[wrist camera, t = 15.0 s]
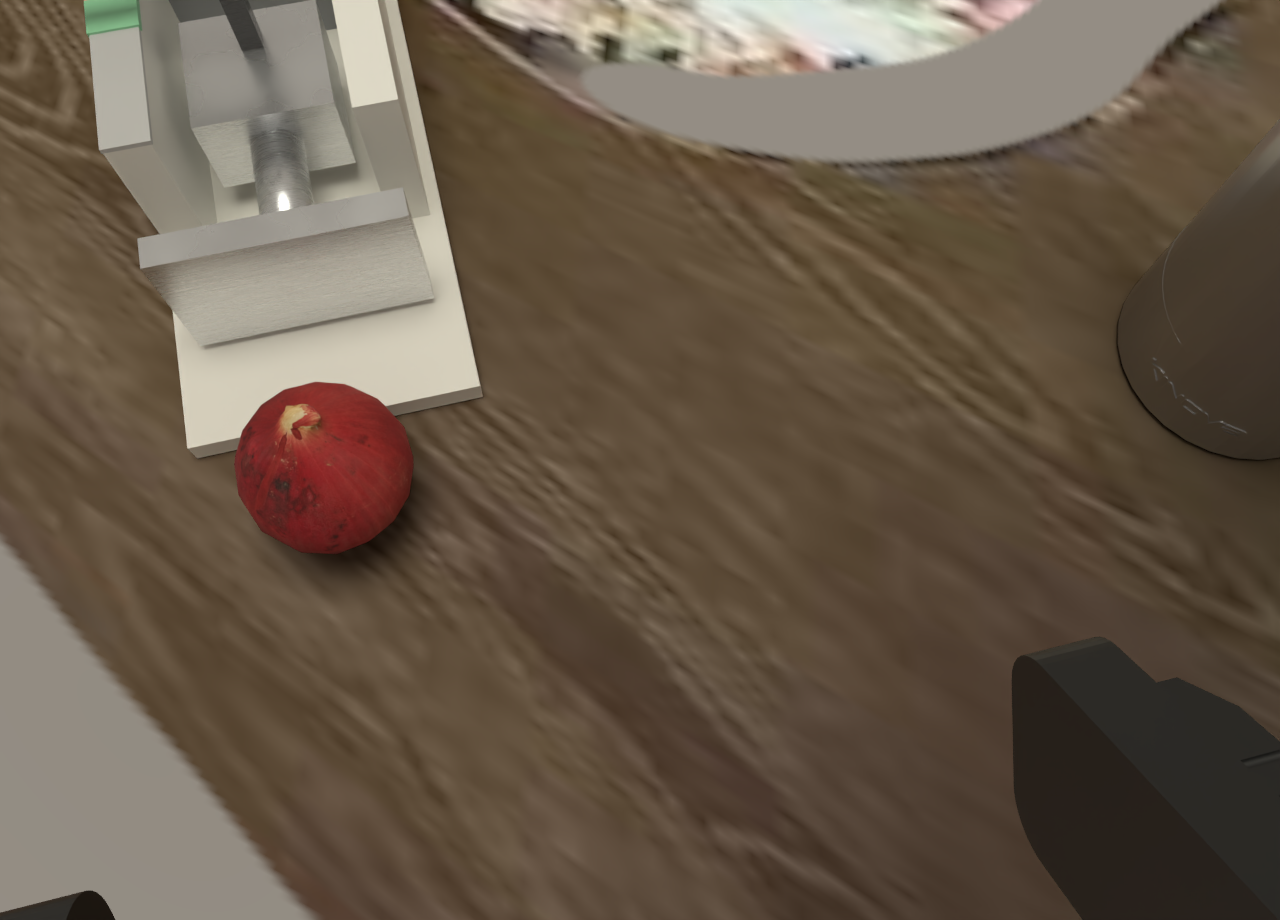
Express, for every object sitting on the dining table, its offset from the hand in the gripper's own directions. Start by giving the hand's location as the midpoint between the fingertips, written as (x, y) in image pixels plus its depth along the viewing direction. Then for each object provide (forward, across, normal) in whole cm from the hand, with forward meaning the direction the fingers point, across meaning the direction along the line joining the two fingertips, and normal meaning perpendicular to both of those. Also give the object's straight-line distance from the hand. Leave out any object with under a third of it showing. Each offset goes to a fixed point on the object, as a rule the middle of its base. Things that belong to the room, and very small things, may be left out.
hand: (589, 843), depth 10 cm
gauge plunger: (+39, +7, 0) cm, 39 cm away
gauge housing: (+41, +6, 0) cm, 41 cm away
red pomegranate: (+31, +6, +10) cm, 33 cm away
